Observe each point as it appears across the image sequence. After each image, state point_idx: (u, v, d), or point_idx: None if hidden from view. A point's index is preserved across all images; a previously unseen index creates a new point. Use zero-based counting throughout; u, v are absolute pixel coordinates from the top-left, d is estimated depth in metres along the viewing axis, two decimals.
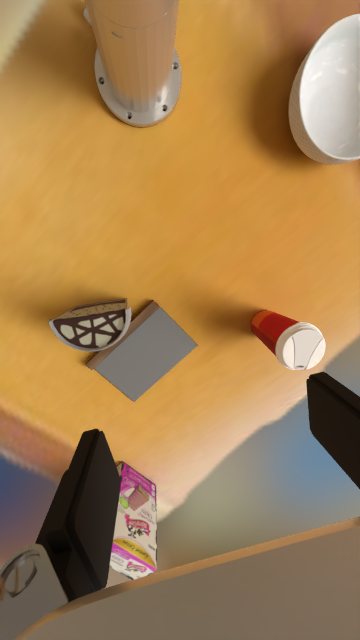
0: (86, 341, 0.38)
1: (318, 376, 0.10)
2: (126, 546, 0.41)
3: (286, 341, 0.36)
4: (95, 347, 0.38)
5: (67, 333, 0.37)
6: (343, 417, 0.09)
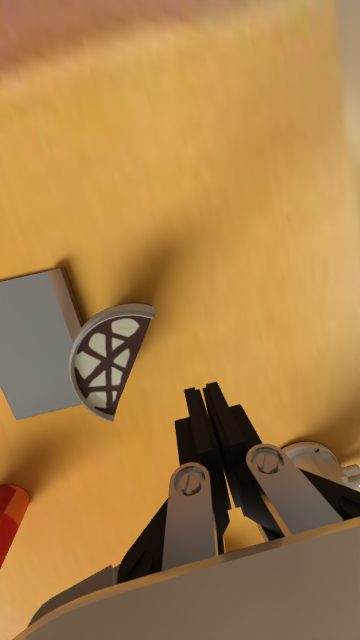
0: (94, 342, 0.22)
1: (209, 386, 0.11)
2: None
3: None
4: (78, 349, 0.22)
5: (122, 324, 0.22)
6: (214, 424, 0.10)
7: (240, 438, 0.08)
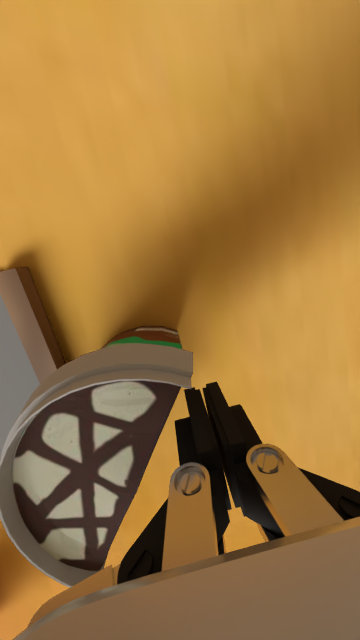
0: (55, 432, 0.10)
1: (209, 386, 0.11)
2: None
3: None
4: (19, 447, 0.10)
5: (116, 395, 0.10)
6: (214, 424, 0.10)
7: (240, 438, 0.08)
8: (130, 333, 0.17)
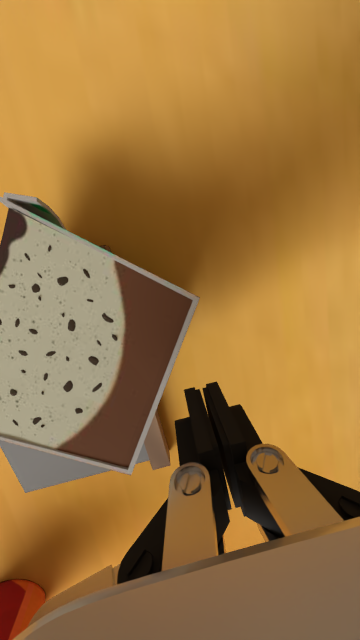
0: None
1: (209, 386, 0.11)
2: None
3: None
4: None
5: None
6: (214, 424, 0.10)
7: (241, 438, 0.08)
8: None
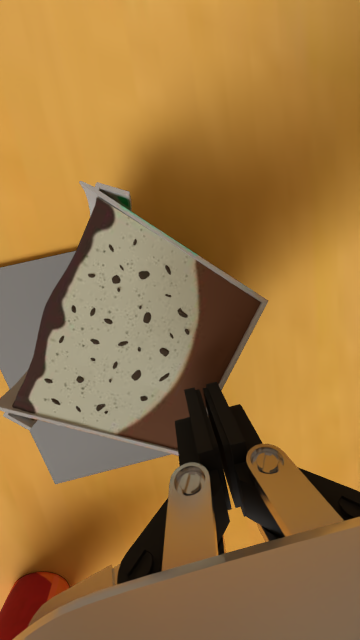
0: None
1: (209, 386, 0.11)
2: None
3: None
4: None
5: None
6: (214, 424, 0.10)
7: (240, 438, 0.08)
8: None
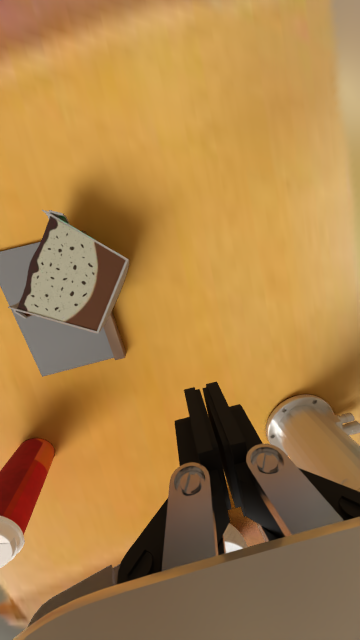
0: None
1: (209, 386, 0.11)
2: None
3: (3, 535, 0.27)
4: None
5: None
6: (214, 424, 0.10)
7: (240, 438, 0.08)
8: None
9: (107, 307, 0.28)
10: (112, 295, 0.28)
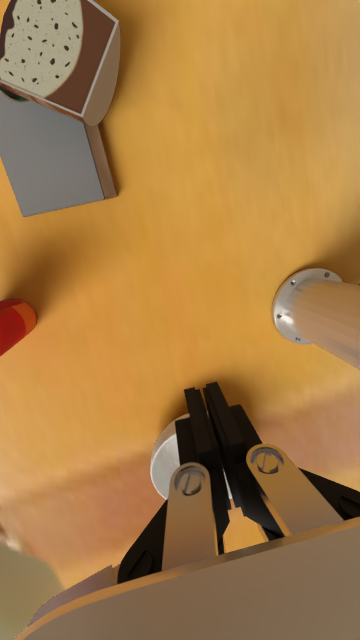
0: None
1: (209, 386, 0.11)
2: None
3: None
4: None
5: None
6: (214, 424, 0.10)
7: (241, 438, 0.08)
8: None
9: (93, 83, 0.24)
10: (99, 67, 0.24)
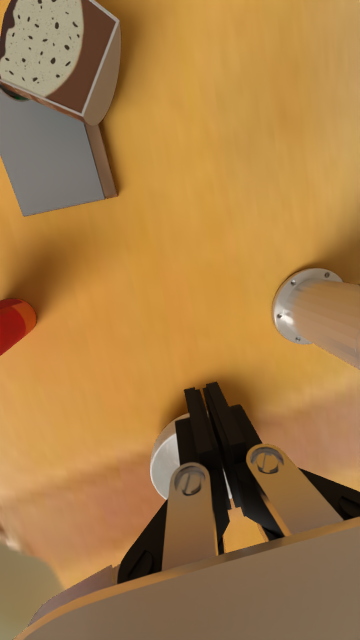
0: None
1: (209, 386, 0.11)
2: None
3: None
4: None
5: None
6: (214, 424, 0.10)
7: (241, 438, 0.08)
8: None
9: (94, 82, 0.24)
10: (100, 67, 0.24)
